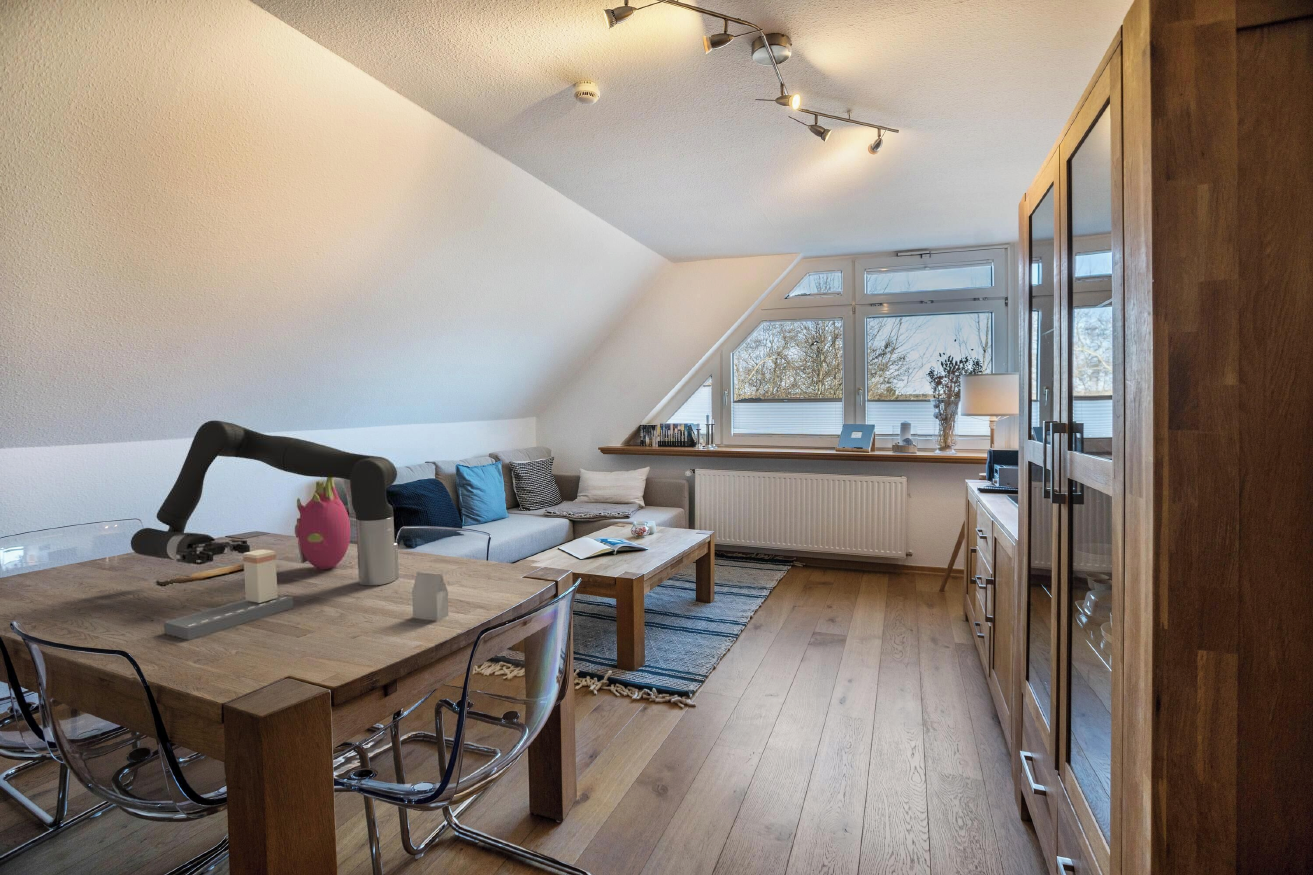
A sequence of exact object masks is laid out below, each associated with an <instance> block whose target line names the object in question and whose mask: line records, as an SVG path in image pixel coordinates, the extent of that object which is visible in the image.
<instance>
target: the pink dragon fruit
mask: <svg viewBox="0 0 1313 875" xmlns="http://www.w3.org/2000/svg"><path fill="white" fill-rule="evenodd" d="M334 482H335V481H334V478H329V477H326V481H319V480H318V481H316V483H315V491H314V492H313V496H312V497H311V499H310V500H309V501H307V503H306V504H305V505H303V504H302V501H301V499H300V498H297V499H296V508H297V510H298V512H299V518H298V517H296V523H295V525H294V535H295V538H298V539H297V546H298V552H299V558H300V564H304V563H306V562H308V563H309V564H310V565H311V566H313V567H314V568H316V569H320V570H328V569H332V568H334V567H336V566H338V564H339V563H340V562H341V561H342V560H343V559H344V557H345V555H346V554H347V551H348V548H349V546H350V542H351V532H352V531H351V522H350V518H349V514H348V512H347V509H346V507H345V505H344V503H343V502H342V500H341V499H340V497H339V494H338V492H337V490H336V486H335V483H334Z"/></svg>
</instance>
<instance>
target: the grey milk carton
mask: <svg viewBox="0 0 1313 875" xmlns="http://www.w3.org/2000/svg"><path fill="white" fill-rule="evenodd" d="M412 587H413V588H412V591H411V596H412V598H411V602H412V618H413V619H418V620H419V619H421V620H427V621H428V620H429V621H435V622H438V621H441V620H443V619H445V618H447V617H449V599H448V598H449V597H448V596H449V594H448V593H449V592H448V588H447V586H446V582H445V581H444V577H443V573H436V572H427V571H416V576H415V580H414V584H413V586H412ZM442 618H443V619H442Z"/></svg>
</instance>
